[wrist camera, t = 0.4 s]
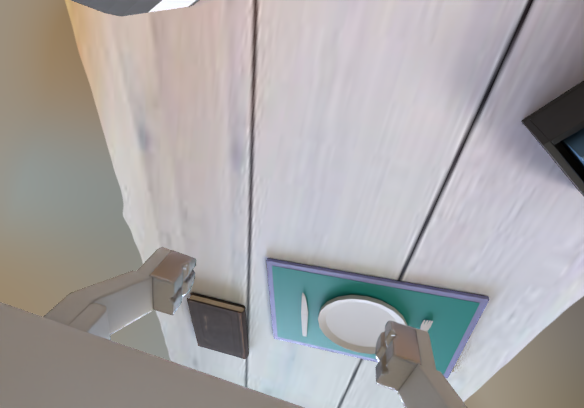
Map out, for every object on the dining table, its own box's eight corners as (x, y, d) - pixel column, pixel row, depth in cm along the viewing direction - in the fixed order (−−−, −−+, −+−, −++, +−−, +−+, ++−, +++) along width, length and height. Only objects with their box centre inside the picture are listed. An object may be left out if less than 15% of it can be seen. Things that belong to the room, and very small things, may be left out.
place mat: (488, 296, 61) (491, 306, 60) (447, 375, 79) (448, 384, 77) (267, 258, 71) (264, 265, 69) (274, 335, 89) (272, 343, 87)
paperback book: (201, 339, 100) (198, 345, 98) (190, 292, 86) (186, 299, 85) (249, 352, 97) (246, 359, 95) (246, 306, 84) (242, 313, 82)
